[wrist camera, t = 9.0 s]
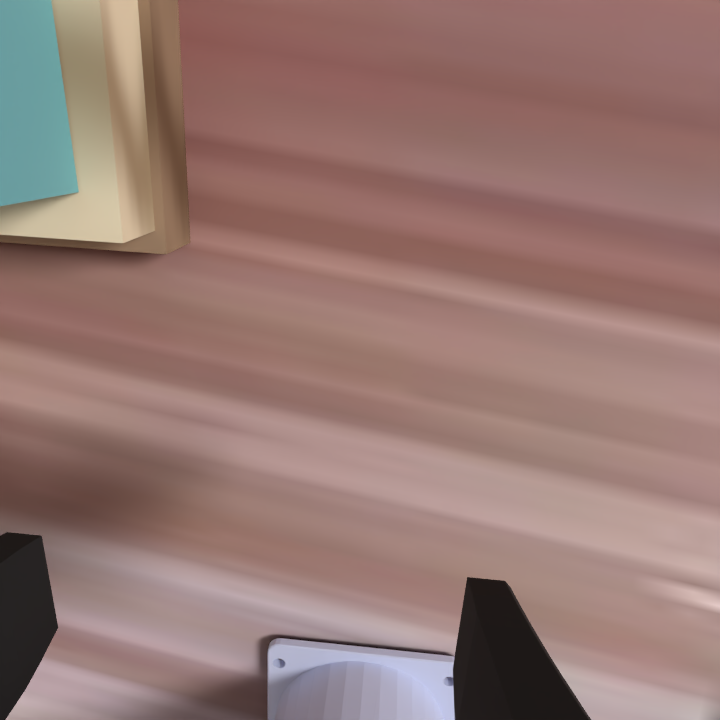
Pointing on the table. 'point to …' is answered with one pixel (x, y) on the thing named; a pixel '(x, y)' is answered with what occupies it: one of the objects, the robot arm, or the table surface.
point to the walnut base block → (155, 138)
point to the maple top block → (97, 130)
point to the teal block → (32, 106)
